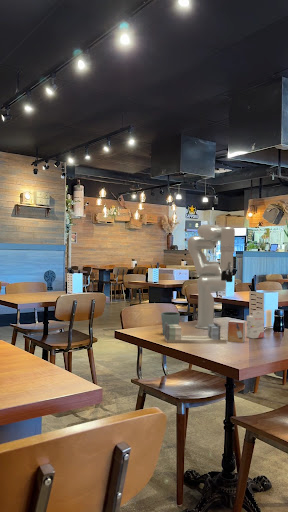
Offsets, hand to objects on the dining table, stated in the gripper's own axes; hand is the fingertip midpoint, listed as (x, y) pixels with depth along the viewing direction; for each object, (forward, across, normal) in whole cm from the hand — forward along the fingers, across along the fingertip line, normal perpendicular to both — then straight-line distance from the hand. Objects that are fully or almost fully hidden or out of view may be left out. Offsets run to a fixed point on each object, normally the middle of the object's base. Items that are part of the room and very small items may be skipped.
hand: (226, 281), depth 231 cm
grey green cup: (+31, -4, -30) cm, 43 cm away
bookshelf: (+30, +13, -20) cm, 38 cm away
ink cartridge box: (+31, +2, +16) cm, 35 cm away
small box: (+31, +12, +2) cm, 33 cm away
